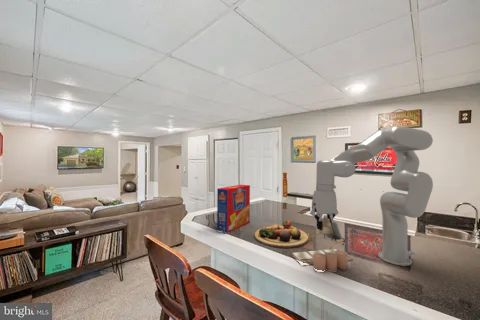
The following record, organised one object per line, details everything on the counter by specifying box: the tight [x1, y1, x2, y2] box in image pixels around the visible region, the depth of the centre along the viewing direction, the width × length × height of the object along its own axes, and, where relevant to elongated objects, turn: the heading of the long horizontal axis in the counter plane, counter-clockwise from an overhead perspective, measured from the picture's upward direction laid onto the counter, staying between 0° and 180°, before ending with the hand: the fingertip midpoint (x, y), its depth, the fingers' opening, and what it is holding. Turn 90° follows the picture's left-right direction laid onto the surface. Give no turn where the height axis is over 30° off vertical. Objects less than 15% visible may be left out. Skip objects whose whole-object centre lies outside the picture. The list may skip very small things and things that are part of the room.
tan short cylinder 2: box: [324, 252, 338, 272], centre depth 89 cm, size 5×5×6 cm
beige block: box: [318, 218, 333, 235], centre depth 93 cm, size 4×4×6 cm
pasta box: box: [216, 184, 251, 234], centre depth 145 cm, size 28×8×28 cm, turn 147°
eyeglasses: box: [307, 232, 346, 249], centre depth 117 cm, size 14×14×4 cm
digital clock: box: [322, 214, 343, 239], centre depth 131 cm, size 16×9×11 cm, turn 167°
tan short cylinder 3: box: [335, 249, 349, 270], centre depth 91 cm, size 5×5×6 cm
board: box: [289, 248, 354, 264], centre depth 100 cm, size 26×12×1 cm, turn 102°
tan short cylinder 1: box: [312, 253, 327, 271], centre depth 89 cm, size 5×5×6 cm
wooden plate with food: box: [254, 219, 310, 249], centre depth 126 cm, size 32×32×8 cm
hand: (324, 228), depth 93 cm, fingers closed on beige block, 3 cm apart
